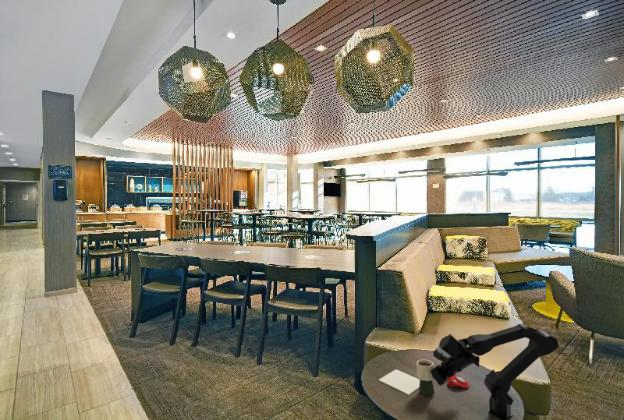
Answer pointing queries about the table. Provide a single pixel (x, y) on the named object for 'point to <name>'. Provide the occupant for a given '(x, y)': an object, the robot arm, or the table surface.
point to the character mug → (425, 376)
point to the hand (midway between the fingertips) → (433, 377)
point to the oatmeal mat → (401, 381)
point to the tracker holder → (457, 382)
